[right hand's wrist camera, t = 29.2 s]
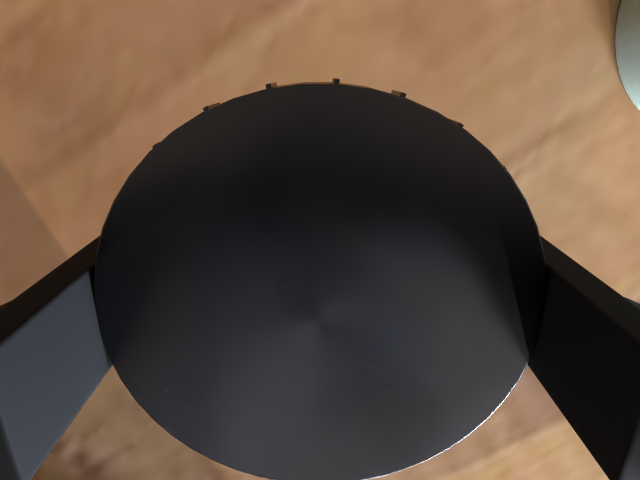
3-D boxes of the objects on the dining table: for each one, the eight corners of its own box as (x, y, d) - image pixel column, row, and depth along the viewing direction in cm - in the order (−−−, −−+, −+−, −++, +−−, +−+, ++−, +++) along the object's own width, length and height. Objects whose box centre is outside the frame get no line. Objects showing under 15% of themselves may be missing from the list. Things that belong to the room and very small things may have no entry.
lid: (78, 360, 13) (42, 403, 11) (207, -10, 9) (183, -28, 8) (393, 477, 14) (402, 530, 13) (599, 200, 11) (649, 223, 9)
